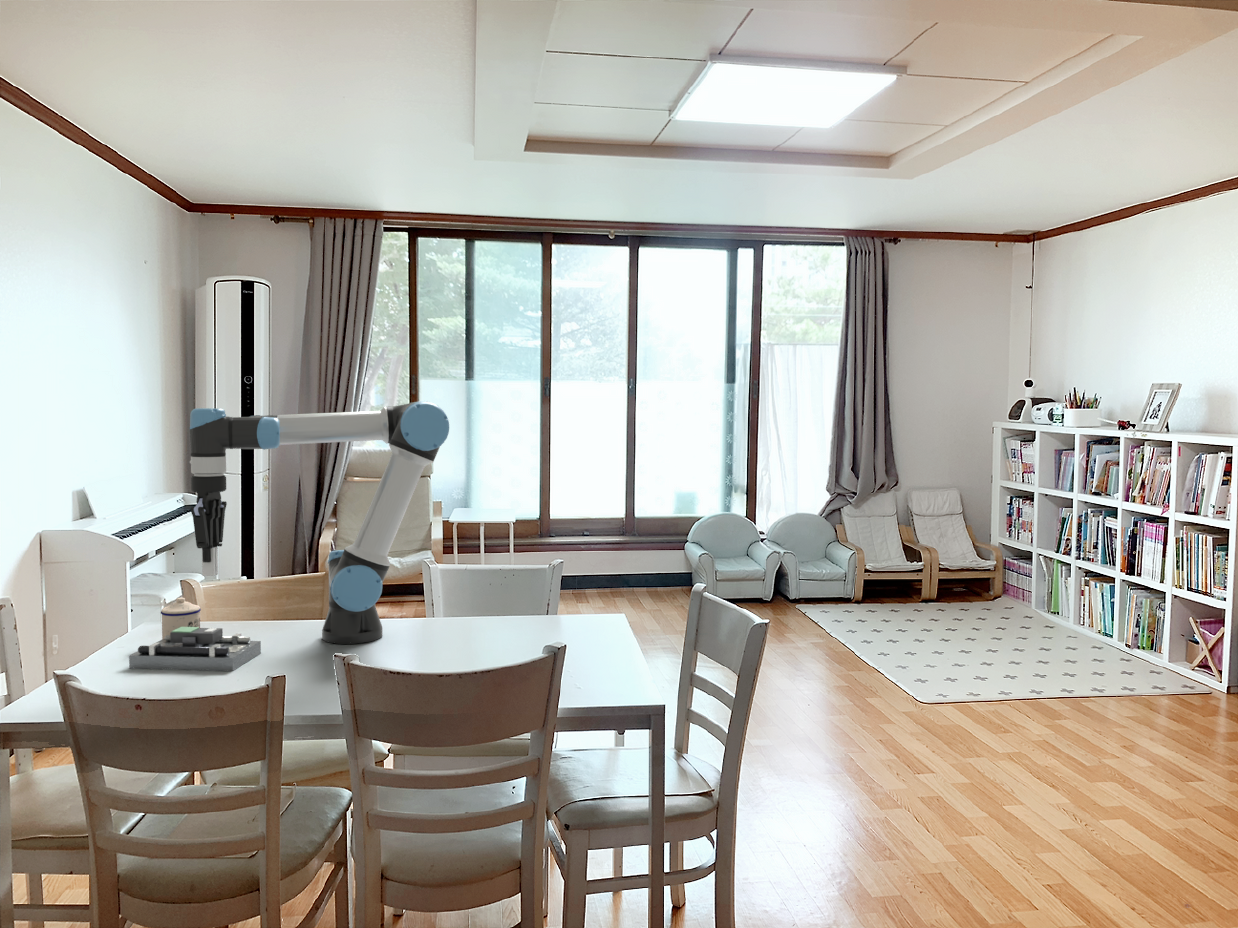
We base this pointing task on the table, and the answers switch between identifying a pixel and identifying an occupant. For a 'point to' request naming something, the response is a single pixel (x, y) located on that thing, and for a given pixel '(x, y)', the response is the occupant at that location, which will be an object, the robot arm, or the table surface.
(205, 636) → the rocker
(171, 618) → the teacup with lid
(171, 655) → the panel
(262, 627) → the table surface
